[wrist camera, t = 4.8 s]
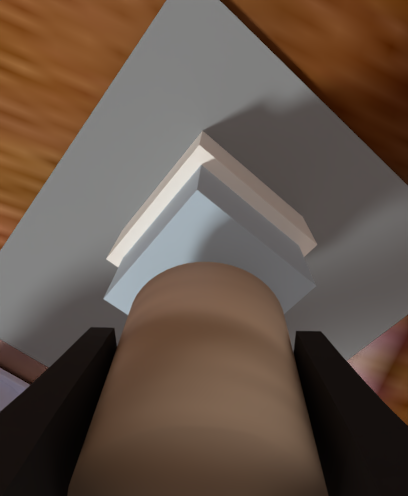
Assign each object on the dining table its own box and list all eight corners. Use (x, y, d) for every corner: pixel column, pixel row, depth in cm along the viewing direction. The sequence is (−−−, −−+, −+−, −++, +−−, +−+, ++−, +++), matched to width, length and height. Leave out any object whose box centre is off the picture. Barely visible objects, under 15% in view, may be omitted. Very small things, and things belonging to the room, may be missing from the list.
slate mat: (211, 458, 26) (211, 462, 26) (-39, 311, 21) (-43, 314, 21) (478, 255, 19) (481, 258, 19) (188, -30, 14) (187, -32, 14)
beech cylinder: (215, 408, 13) (213, 604, 8) (98, 336, 11) (20, 518, 7) (318, 324, 11) (387, 511, 6) (194, 229, 10) (173, 377, 5)
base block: (217, 299, 20) (217, 336, 17) (122, 229, 19) (106, 259, 16) (302, 216, 18) (317, 244, 15) (202, 130, 16) (199, 144, 14)
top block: (216, 323, 17) (216, 373, 14) (123, 257, 16) (103, 298, 13) (299, 245, 15) (316, 285, 13) (201, 164, 14) (197, 189, 11)
